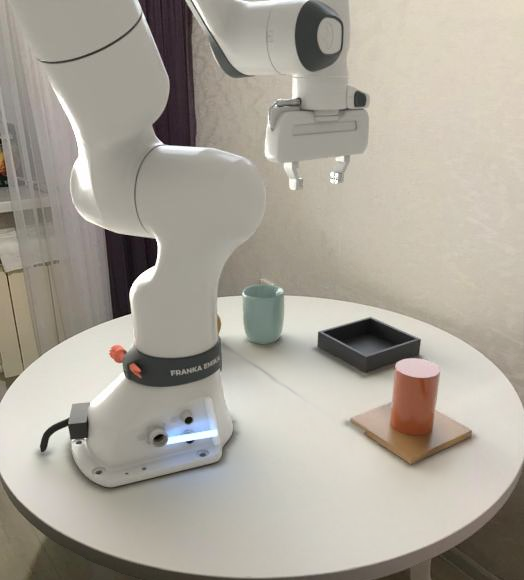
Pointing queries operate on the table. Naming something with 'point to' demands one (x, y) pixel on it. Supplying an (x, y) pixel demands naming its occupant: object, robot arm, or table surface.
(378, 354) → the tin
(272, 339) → the cup
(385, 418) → the board
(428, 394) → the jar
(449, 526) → the table surface
